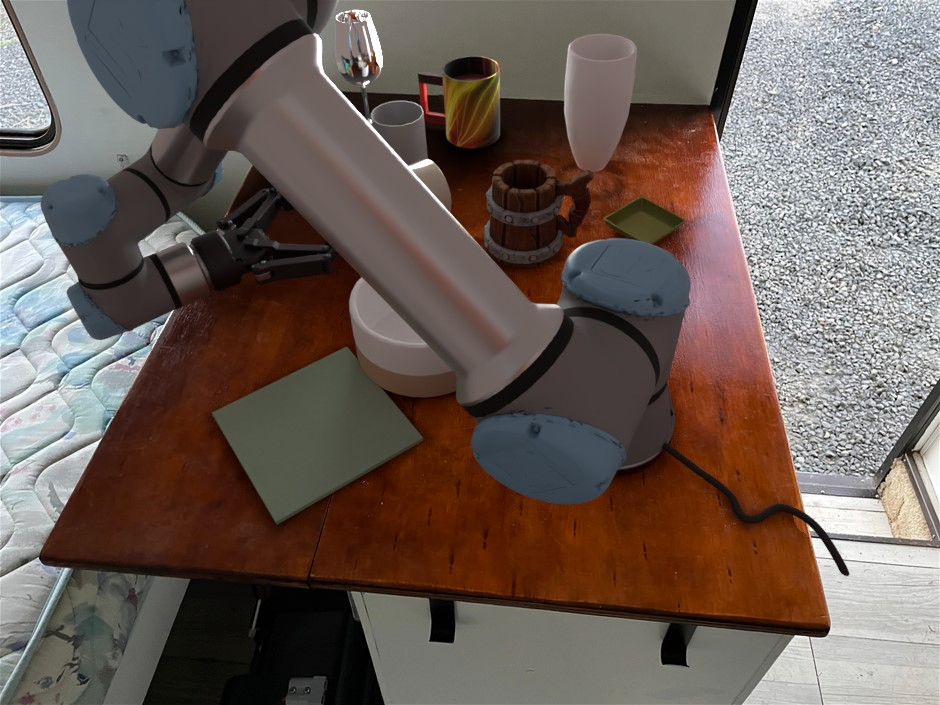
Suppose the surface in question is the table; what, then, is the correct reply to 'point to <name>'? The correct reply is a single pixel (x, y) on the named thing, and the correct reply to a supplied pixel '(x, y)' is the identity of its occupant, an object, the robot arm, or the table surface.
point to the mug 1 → (466, 100)
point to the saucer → (643, 221)
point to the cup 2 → (598, 96)
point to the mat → (314, 432)
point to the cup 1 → (402, 129)
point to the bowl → (395, 349)
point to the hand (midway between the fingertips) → (346, 208)
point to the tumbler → (433, 180)
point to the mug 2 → (532, 212)
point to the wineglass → (357, 51)
